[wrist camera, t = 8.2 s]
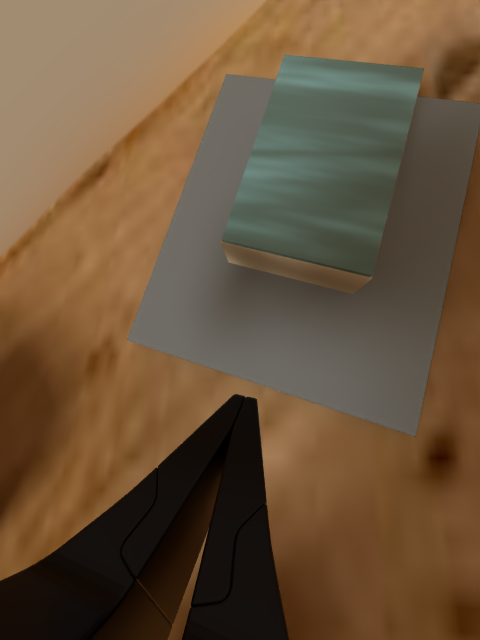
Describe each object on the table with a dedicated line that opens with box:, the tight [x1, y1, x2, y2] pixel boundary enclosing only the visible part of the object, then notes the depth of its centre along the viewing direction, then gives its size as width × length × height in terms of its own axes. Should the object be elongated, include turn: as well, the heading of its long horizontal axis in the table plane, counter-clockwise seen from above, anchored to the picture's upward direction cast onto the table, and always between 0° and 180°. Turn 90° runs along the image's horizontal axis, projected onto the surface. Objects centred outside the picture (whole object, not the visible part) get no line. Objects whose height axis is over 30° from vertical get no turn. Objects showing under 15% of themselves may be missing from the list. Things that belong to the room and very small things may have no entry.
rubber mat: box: [127, 74, 480, 437], centre depth 18 cm, size 24×20×1 cm
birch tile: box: [221, 55, 424, 294], centre depth 16 cm, size 3×9×14 cm
